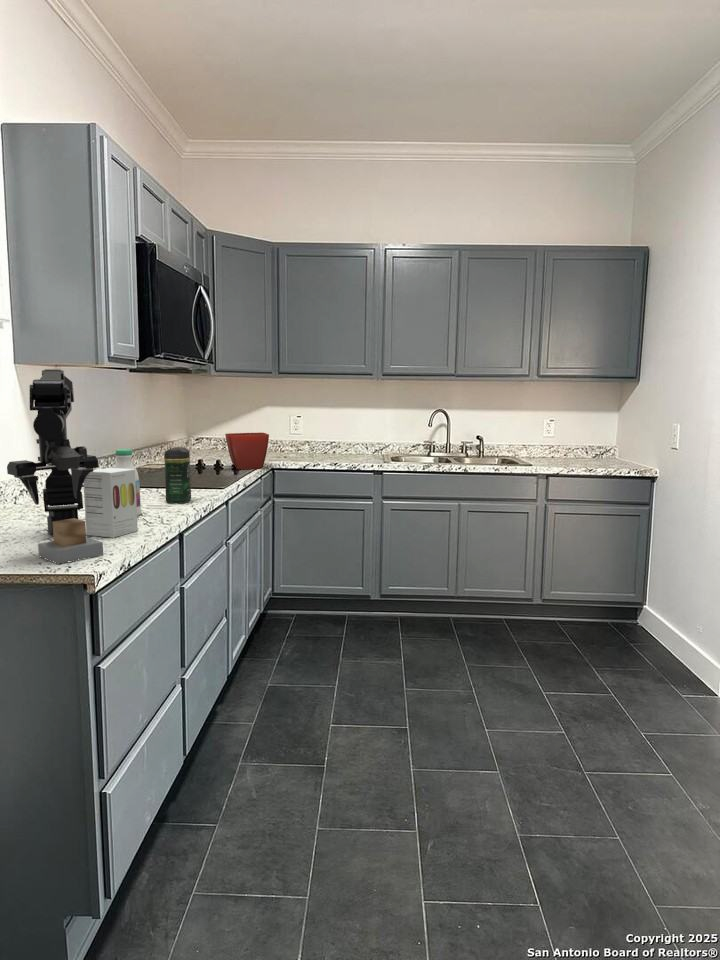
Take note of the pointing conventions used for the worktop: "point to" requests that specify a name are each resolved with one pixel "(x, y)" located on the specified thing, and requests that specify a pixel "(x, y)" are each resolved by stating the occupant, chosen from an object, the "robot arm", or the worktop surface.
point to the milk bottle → (126, 463)
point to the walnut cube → (69, 532)
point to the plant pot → (247, 449)
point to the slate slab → (70, 551)
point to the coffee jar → (177, 475)
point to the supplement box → (110, 502)
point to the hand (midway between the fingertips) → (57, 501)
